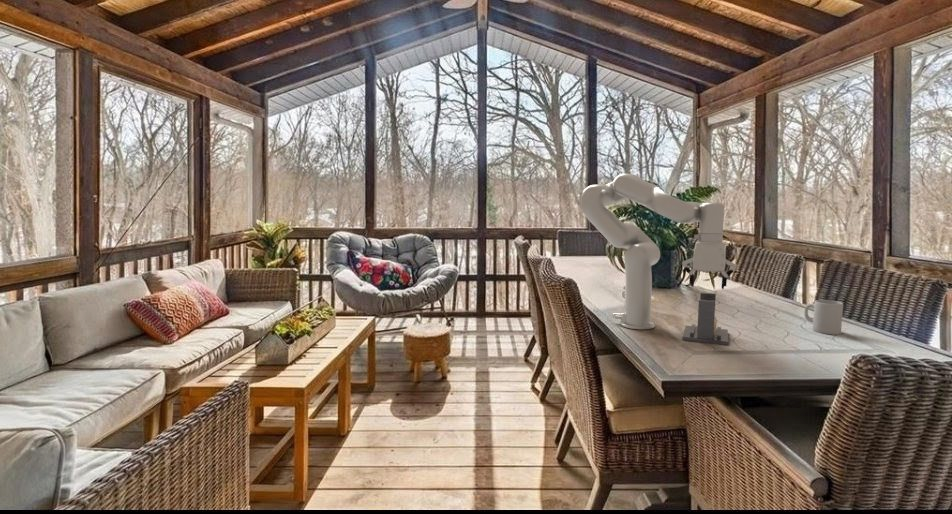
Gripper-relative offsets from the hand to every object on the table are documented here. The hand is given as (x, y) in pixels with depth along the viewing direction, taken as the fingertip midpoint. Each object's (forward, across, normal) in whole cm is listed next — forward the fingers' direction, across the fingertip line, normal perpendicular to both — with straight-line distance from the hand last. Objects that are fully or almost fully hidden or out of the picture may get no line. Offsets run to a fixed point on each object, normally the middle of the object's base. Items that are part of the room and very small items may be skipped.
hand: (707, 287), depth 173 cm
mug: (+18, +38, +27) cm, 50 cm away
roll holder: (+18, 0, 0) cm, 18 cm away
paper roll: (+16, 0, 0) cm, 16 cm away
